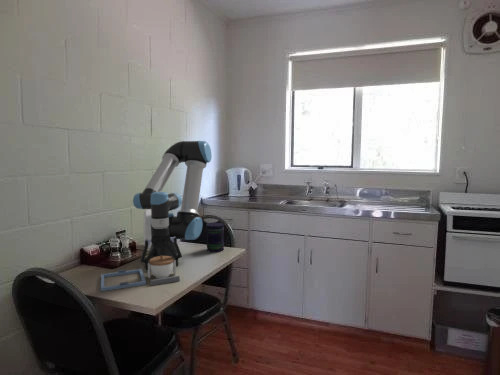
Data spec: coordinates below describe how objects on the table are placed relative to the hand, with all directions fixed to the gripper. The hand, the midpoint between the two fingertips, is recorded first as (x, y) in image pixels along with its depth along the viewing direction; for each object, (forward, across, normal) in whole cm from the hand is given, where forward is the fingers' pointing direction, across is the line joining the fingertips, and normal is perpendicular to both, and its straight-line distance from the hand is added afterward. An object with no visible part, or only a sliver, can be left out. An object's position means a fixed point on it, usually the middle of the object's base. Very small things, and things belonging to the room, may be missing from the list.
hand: (162, 275), depth 153 cm
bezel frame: (+1, -16, +2) cm, 17 cm away
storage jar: (+1, +34, +29) cm, 45 cm away
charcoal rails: (+1, 0, 0) cm, 1 cm away
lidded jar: (+1, 0, 0) cm, 1 cm away
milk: (+1, +4, +53) cm, 53 cm away
